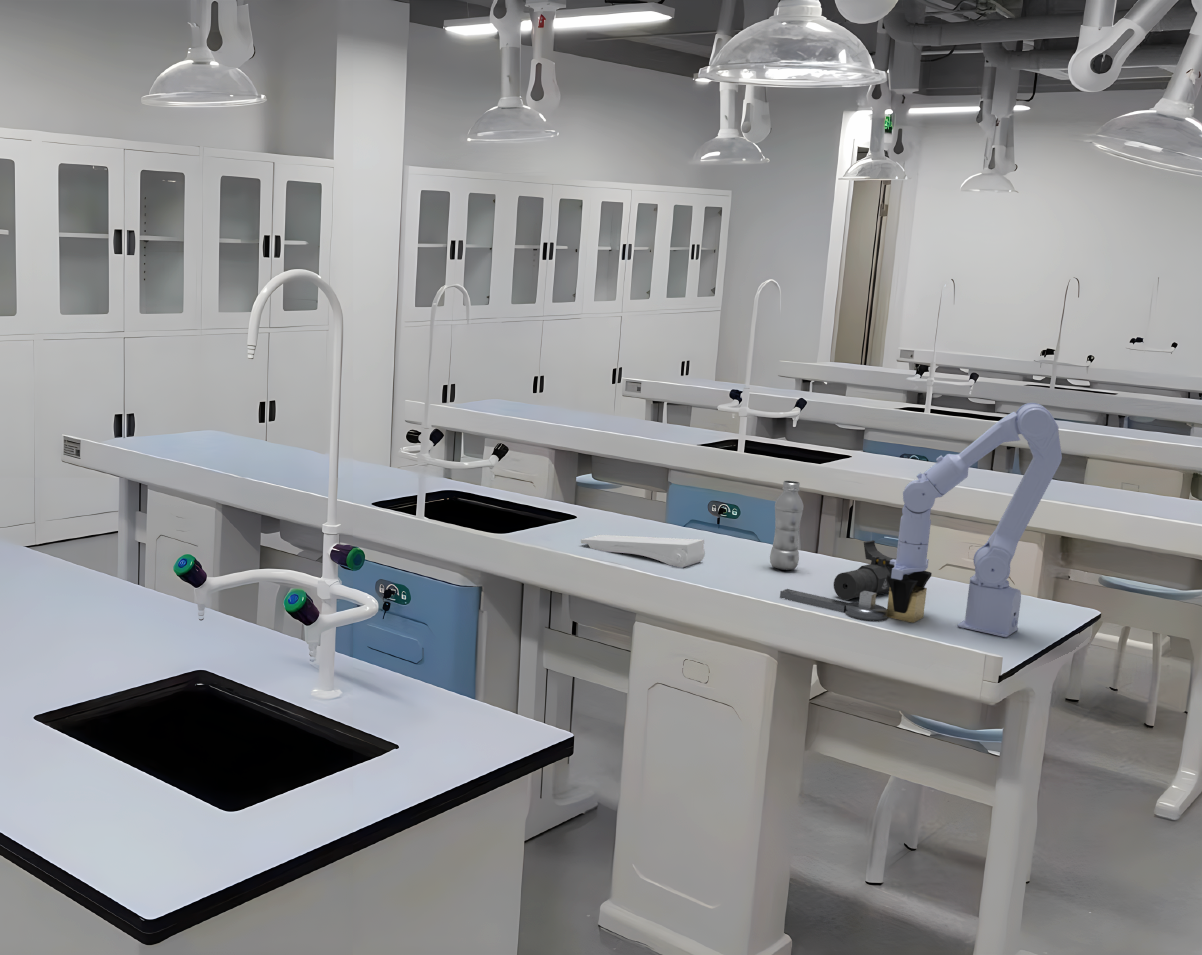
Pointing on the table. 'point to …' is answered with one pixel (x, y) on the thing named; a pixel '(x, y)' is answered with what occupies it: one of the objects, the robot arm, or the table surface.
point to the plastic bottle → (787, 527)
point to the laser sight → (865, 575)
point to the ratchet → (842, 604)
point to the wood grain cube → (909, 606)
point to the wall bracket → (652, 548)
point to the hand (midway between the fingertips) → (905, 609)
